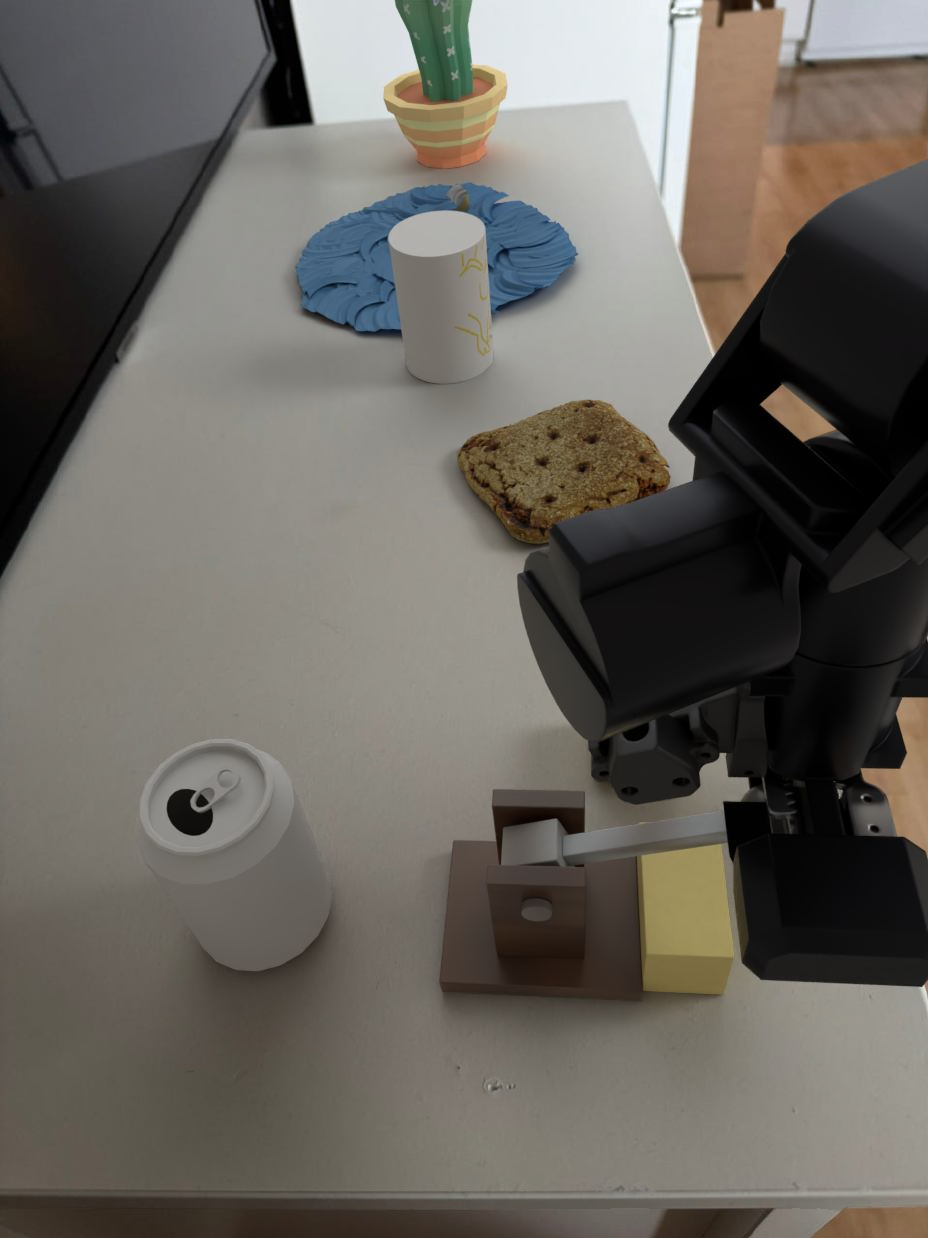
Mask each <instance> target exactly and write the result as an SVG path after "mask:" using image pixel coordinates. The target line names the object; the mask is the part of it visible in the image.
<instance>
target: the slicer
mask: <svg viewBox="0 0 928 1238" xmlns="http://www.w3.org/2000/svg"><path fill="white" fill-rule="evenodd" d="M491 798H492V799H491V811H492V818H493V819H492V820H493V827H494V835H495V840H470V839H469V840H467V839H466V840H465V839H453V841H452V848H451V856H450V857H451V858H450V868H449V878H448V889H447V898H446V909H445V918H444V928H443V929H444V931H443V940H442V941H443V942H442V949H441V960H440V971H439V980H438V982H439V986H440V990H441V992H442V993H463V994H484V995H502V996H503V995H505V996H523V997H524V996H529V997H549V998H568V999H569V998H570V999H592V1000H610V1001H611V1000H612V1001H613V1000H614V1001H634V1002H640V1001H641V1002H642V1001H643V995H644V991H643V981H642V960H641V939H640V917H639V896H638V875H637V856H635V857H628V858H621V859H614V860H607V861H601V862H594V863H587V864H580V865H574V867H555V866H522V865H501V856H502V839H503V828H504V827H508V826H514V825H520V824H526V823H532V822H538V821H544V820H551V819H558V820H559V822H560V823H561V825H562V826H563V827H564V829H565V830H566V832H567V833H568V834H569V835H572V834H578V833H584V832H586V791H584V790H559V789H557V790H555V789H551V790H550V789H516V788H515V789H513V788H508V789H507V788H493V789H492V797H491Z"/></svg>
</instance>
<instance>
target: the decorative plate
mask: <svg viewBox="0 0 928 1238" xmlns="http://www.w3.org/2000/svg"><path fill="white" fill-rule="evenodd" d="M510 196H511V195H510V194H508V193H506V192H504V191H498V190H495V189H493V188H492V187H491V186H489V187H487V185H483V184H482V185H478V184H475V183H473V182H467V183H462V184H459V183H456V184H454V185H451V184H450V185H447V184H446V185H444V184H437V185H433V184H430V185H427V186H425V185H423V186H415V187H413V188H411V189H409V190H407V191H404V192H400V193H399V192H397V193H396V194H395V195H389V196H388V197H386V198H385V199H382V200H379V201H376V202H374V203H372V204H371V205H370V206H364V207H363V208H362V209H360V210H358V211H354V212H348V213H347V214H346V215H342V216H340V217H339V218H338V219H337V220H334V221H330V222H329V223H327V224H325V226H323V227H322V228H320V230H319V231H318V232H316V233H314V234H313V235H312V236H311V237H310V238H309V240H308V241H307V243H306V246H305V247H304V248H303V249H302V253H301V256H300V257H299V259H298V262H297V264H296V265H295V266H294V268H295V270H294V271H295V274H296V275H297V276H298V279H299V280H298V283H299V285H300V287H301V290H302V294H301V302H300V307H302V308H304V309H306V310H308V311H310V312H311V313H319V314H320V315H323V317H326V318H327V319H329V320H331V321H334V322H335V323H336V324H338V323H339V324H340V325H345V324H346V323H347V324H348V325H349V327H352V328H354V331H356V332H367V331H368V332H378V331H379V330H381V329H382V330H391V329H394V330H401V323H400V316H399V309H398V302H397V295H396V289H395V282H394V275H393V268H392V261H391V254H390V247H389V240H388V236H389V233H390V231H391V230H392V228H393V227H394V226H395V225H397V224H398V223H399V222H401V221H403V220H405V219H407V218H409V217H412V216H414V215H418V214H421V213H426V212H432V211H459V212H464V213H468V214H471V215H473V216H475V217H477V218H479V219H480V220H481V221H482V222H483V223H484V225H485V231H486V246H487V262H488V277H489V292H490V307H491V314H496V315H497V314H499V313H500V311H499V310H496V309H497V308H498V307H499V306H500V305H504V304H507V303H509V302H512V301H515V300H519V299H522V298H527V296H529V295H532V294H534V292H536V291H537V290H539V289H543V288H549V287H550V286H551V285H553V284H554V283H555V281H557V280H559V278H560V275H561V274H562V273H564V271H565V270H567V269H568V268H569V267H571V266H572V265H574V263H575V262H576V259H577V258H576V256H578V255H579V252H577V247H576V246H575V245H574V244H573V242H572V240H571V239H570V234H569V232H568V231H566V230H565V227H564V226H562V225H561V223H560V222H557V221H556V220H554V221H551V218H550V217H549V216H547V215H546V214H543V213H542V212H540V210H538V207H534V206H533V205H532V204H526V203H525V202H523V200H509V201H502V202H498V201H499V200H501V199H504V198H508V197H510Z"/></svg>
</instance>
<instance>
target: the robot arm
mask: <svg viewBox="0 0 928 1238" xmlns="http://www.w3.org/2000/svg"><path fill="white" fill-rule="evenodd" d="M745 309H746V310H745V311H744V312H743V314H742V315H741V316H740V318H739V320H738V321H737V322H736V324H735V325H734V326H733V328H732V329H731V330H730V331H729V334H728V335H727V336H726V338H725V339H724V341H723V343H722V344H721V345H720V347H719V348H718V350H717V351H716V352H715V354H714V355H713V357H712V358H711V359H710V361H709V363H708V364H707V365H706V367H705V368H704V370H703V371H702V372H701V374H700V375H699V377H698V378H697V380H696V381H695V383H694V384H692V385H693V386H692V387H691V388H690V390H689V391H688V392H687V394H686V395H685V396H684V398H683V399H682V401H681V403H680V404H679V405H678V407H677V409H676V410H675V411H674V413H673V414H672V416H671V417H670V418H669V421H668V423H667V427H668V428H667V429H668V431H669V432H670V433H671V434H672V435H673V436H674V437H675V438H676V439H677V440H678V441H679V442H680V444H682V445H683V446H684V447H685V448H686V449H687V450H688V451H689V452H690V453H691V454H692V455H693V456H694V463H693V473H692V480H691V481H688V482H685V483H682V484H679V485H677V486H674V487H671V488H667V489H666V490H664V491H662V492H659V493H656V494H653V495H650V496H648V497H641V498H638V499H635V501H633V502H630V503H628V504H624V505H621V506H617V507H611V508H604V509H596V510H592V511H589V512H585V513H582V514H580V515H577V516H574V517H571V518H568V519H565V520H562V521H559V522H557V523H555V524H554V525H553V526H552V527H551V528H550V530H549V542H548V546H546V547H543V548H541V549H537V550H535V551H532V552H530V553H529V554H528V556H527V557H526V558H525V559H524V560H525V561H524V565H523V570H522V572H518V573H517V575H516V583H517V584H516V585H517V586H516V588H517V595H518V603H519V608H520V612H521V617H522V621H523V625H524V628H525V631H526V636H527V639H528V641H529V645H530V648H531V650H532V653H533V656H534V658H535V661H536V664H537V666H538V669H539V671H540V673H541V675H542V678H543V679H544V682H545V684H546V687H547V689H548V690H549V693H550V694H551V696H552V698H553V700H554V701H555V703H556V706H558V708H559V711H560V712H561V713H562V715H563V716H564V718H565V719H566V720H567V722H568V723H569V725H571V727H572V729H573V730H575V732H576V733H577V734H578V735H580V736H581V738H583V739H584V740H586V741H587V750H588V752H589V753H590V776H591V778H592V779H593V780H594V779H595V781H598V782H602V783H603V782H605V783H607V782H608V783H609V784H610V787H611V788H612V790H613V791H614V793H615V795H616V796H617V798H618V799H619V800H620V801H621V802H623V803H627V804H631V805H634V806H638V805H645V804H650V803H656V802H662V801H667V800H668V801H669V800H674V799H679V798H680V799H681V798H687V797H690V796H692V795H693V794H694V793H696V792H697V791H698V790H699V789H700V788H701V785H702V783H701V776H700V773H701V770H702V768H703V767H704V766H705V765H708V764H712V763H715V762H717V761H718V760H719V759H720V754H725V764H726V770H727V777H728V778H747V780H748V781H747V783H748V787H749V788H748V791H749V790H750V789H751V788H753V787H754V786H756V785H759V784H762V783H763V789H764V795H765V801H766V802H740V801H741V800H740V801H739V800H738V801H737V800H731V801H730V800H723V801H722V807H723V810H724V816H725V825H726V833H727V841H728V843H727V849H728V855H729V859H730V861H731V862H732V865H733V868H732V872H733V874H732V875H733V876H732V880H733V881H732V882H733V883H732V891H733V892H732V893H733V902H734V909H735V918H736V919H735V920H736V926H737V934H738V943H739V944H738V945H739V951H740V960H741V964H742V965H744V967H746V968H747V969H748V970H749V971H750V972H751V973H752V974H754V975H755V976H756V977H757V978H758V979H759V980H760V981H774V982H795V983H817V984H818V983H820V984H839V985H841V984H843V985H864V986H865V985H866V986H887V987H889V986H890V987H911V988H923V987H924V986H925V984H926V983H927V982H928V855H927V851H926V850H924V849H923V848H922V847H921V846H919V845H917V844H916V843H914V841H911V840H910V839H908V838H907V837H905V836H899V835H898V833H897V829H896V824H895V821H894V818H893V813H892V809H891V806H890V802H889V799H888V796H887V794H886V793H885V791H884V790H883V789H882V788H880V787H879V786H877V785H875V784H873V783H870V782H867V781H866V780H865V779H864V776H863V772H862V769H870V770H871V769H873V770H875V769H879V770H880V769H881V770H901V769H902V768H901V767H902V766H903V764H904V761H905V758H906V756H907V755H908V750H907V747H906V744H905V740H904V737H903V734H902V730H901V726H900V723H899V718H898V716H897V712H898V710H899V707H900V706H901V702H902V700H903V698H904V699H905V698H907V699H908V698H909V699H910V698H911V699H912V698H913V699H915V698H917V699H918V698H919V699H920V698H921V699H924V698H925V699H926V698H927V699H928V158H927V159H924V160H922V161H919V162H917V163H914V164H912V165H909V166H906V167H905V168H902V169H900V170H897V171H894V172H892V173H890V174H888V175H885V176H883V177H879V178H877V179H875V180H873V181H871V182H868V183H866V184H863V185H861V186H858V187H856V188H853V189H852V190H849V191H848V192H846V193H844V194H842V195H840V196H837V198H835V199H834V200H833V201H831V202H829V204H827V205H826V206H825V207H823V208H822V209H820V211H818V212H817V213H816V214H814V215H813V216H812V217H810V218H809V219H808V220H807V221H805V223H804V224H803V225H802V226H801V227H800V228H799V230H797V232H796V233H795V234H794V235H793V236H792V237H791V238H790V239H789V240H788V242H787V244H786V247H785V253H784V255H783V256H782V257H781V259H780V261H779V262H778V263H777V265H776V266H775V268H774V269H773V271H772V272H771V273H770V275H769V276H768V278H766V281H765V282H764V284H763V285H762V286H761V288H760V289H759V291H758V292H757V294H756V295H755V296H754V298H753V299H752V300H751V302H750V303H749V305H748V307H747V308H745ZM781 386H783V387H785V389H787V390H788V391H790V392H791V393H792V394H793V395H794V396H795V397H796V398H798V399H799V400H800V401H802V402H803V403H804V404H805V405H806V406H807V407H809V408H810V409H811V410H812V411H814V412H815V413H816V414H817V415H818V416H820V417H821V418H822V419H823V420H825V422H827V423H828V424H829V425H830V426H832V427H833V428H834V429H833V430H831V431H827V432H825V433H821V434H819V435H816V436H813V437H810V438H808V439H806V440H804V441H802V439H800V438H799V437H798V436H797V435H796V434H794V433H793V432H792V431H791V430H790V429H789V428H788V427H786V425H784V424H783V423H781V422H780V420H779V419H777V418H776V417H775V416H774V415H772V414H771V413H770V412H769V411H768V410H767V409H766V408H764V407H763V406H762V403H763V402H764V401H766V400H767V399H768V398H770V396H771V395H773V394H774V393H775V392H776V391H777V390H778V389H779V388H780V387H781ZM839 790H840V791H842V793H841V795H839Z"/></svg>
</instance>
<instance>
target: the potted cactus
mask: <svg viewBox="0 0 928 1238" xmlns="http://www.w3.org/2000/svg"><path fill="white" fill-rule="evenodd" d="M394 4H395V8H396V11H397V13H398V14H399V16H400V18H401V20H402V22H403V24H404V26H405V28H406V31H407V33H408V34H409V35H408V36H409V39H410V42H411V47H412V50H413V54H414V57H415V60H416V64H417V68H418V69H416V70H413V71H410V72H406V73H403V74H400V75H398V76H397V77H395V78H394V79H392V80H391V81H390V82H389V83H387V84H385V85H384V86H383V96H382V99H383V102H384V105H385V107H386V110H387V112H389V113H391V114H392V115H393V116H394V117H395V121H396V122H397V124H398V127H399V128H400V131H401V133H402V136H404V138H405V139H406V140H407V141H408V143H409V144H411V146H412V147H413V148H414V149H415V150H416V162H418V163H420V164H421V165H423V166H425V167H426V168H432V169H433V168H434V169H442V170H444V169H452V168H462V167H465V166H467V165H468V166H469V165H471V164H473V163H474V164H475V163H477V162H479V161H480V160H481V159H482V158H483V157H484V156H486V154H487V149H486V145H485V143H486V142H487V140H488V138H489V136H490V134H491V133H492V131H493V129H494V128H495V125H496V121H497V117H498V113H499V109H500V105H501V102H503V101H504V100H505V99H506V97H507V92H508V86H509V85H508V80H507V75H506V73H505V72H503V71H501V70H499V69H497V68H494V67H492V66H490V65H485V64H474V63H473V59H472V50H471V41H470V39H471V38H470V31H469V22H470V17H471V11H472V6H473V5H472V4H473V0H394Z"/></svg>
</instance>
